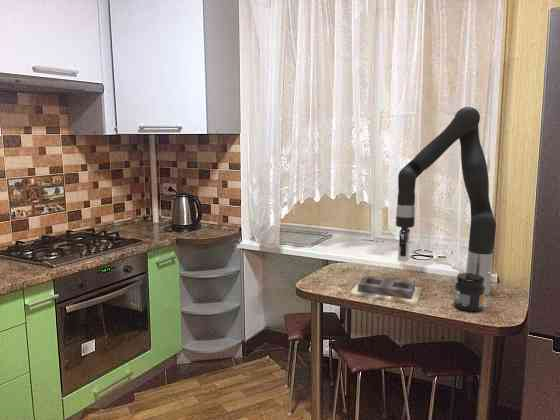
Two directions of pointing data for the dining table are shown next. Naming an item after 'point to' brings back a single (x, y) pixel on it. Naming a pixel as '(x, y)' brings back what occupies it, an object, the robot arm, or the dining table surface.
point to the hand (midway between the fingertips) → (403, 254)
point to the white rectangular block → (406, 258)
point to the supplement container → (469, 292)
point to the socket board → (387, 290)
